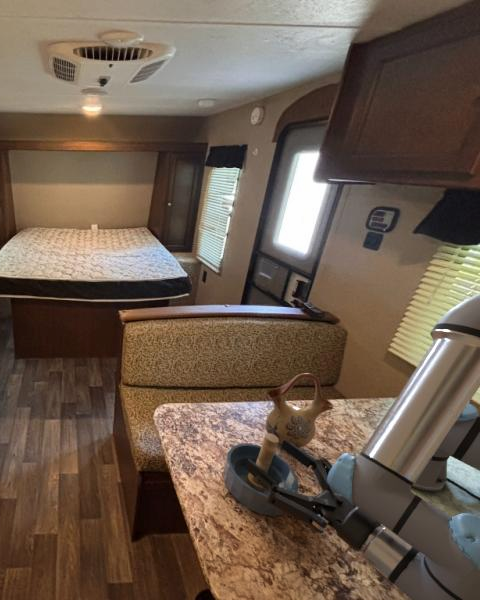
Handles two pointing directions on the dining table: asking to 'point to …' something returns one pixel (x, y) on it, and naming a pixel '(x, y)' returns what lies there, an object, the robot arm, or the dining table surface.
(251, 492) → the bowl
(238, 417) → the dining table surface
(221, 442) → the dining table surface
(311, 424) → the ceramic vessel
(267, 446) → the wooden pestle
